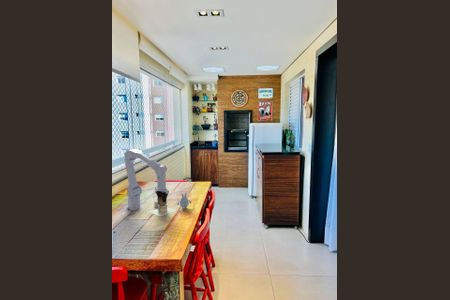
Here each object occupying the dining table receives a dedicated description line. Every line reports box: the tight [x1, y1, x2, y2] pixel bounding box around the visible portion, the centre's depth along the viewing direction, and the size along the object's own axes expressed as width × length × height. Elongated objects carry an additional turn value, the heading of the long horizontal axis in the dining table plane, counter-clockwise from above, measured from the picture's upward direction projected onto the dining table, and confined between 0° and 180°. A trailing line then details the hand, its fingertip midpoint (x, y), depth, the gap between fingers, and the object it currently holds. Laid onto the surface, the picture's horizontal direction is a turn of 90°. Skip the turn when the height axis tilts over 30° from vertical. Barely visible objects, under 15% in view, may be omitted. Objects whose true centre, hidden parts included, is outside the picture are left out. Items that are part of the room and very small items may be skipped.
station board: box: [148, 206, 177, 217], centre depth 168 cm, size 14×14×1 cm
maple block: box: [157, 204, 168, 213], centre depth 167 cm, size 4×4×4 cm
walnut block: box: [156, 197, 168, 206], centre depth 166 cm, size 4×4×4 cm
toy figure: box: [176, 192, 193, 210], centre depth 171 cm, size 11×6×12 cm, turn 113°
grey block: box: [153, 200, 158, 208], centre depth 178 cm, size 4×4×4 cm
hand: (162, 201), depth 167 cm, fingers closed on walnut block, 4 cm apart
